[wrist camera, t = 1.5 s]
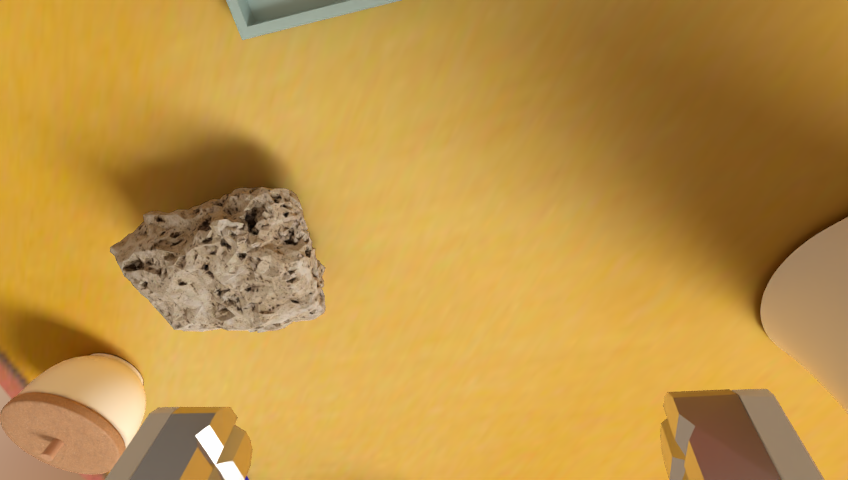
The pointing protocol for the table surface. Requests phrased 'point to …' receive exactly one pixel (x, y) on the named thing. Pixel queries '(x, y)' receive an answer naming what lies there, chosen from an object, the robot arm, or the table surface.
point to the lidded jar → (78, 413)
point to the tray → (290, 13)
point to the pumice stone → (227, 263)
